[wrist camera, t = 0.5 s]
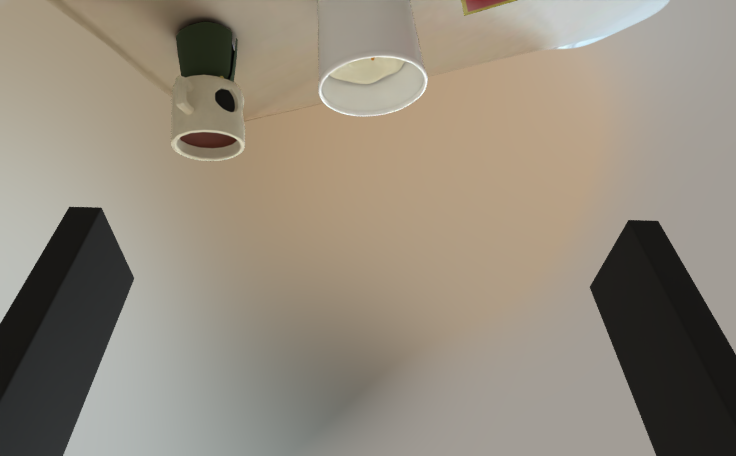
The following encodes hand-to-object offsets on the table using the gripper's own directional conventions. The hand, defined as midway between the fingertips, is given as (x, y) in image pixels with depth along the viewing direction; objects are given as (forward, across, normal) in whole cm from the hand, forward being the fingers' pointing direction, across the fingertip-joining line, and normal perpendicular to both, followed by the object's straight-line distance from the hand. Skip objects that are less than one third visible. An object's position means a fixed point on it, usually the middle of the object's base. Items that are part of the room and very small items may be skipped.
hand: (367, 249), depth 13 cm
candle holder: (+42, 0, -8) cm, 43 cm away
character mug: (+44, -16, -15) cm, 49 cm away
